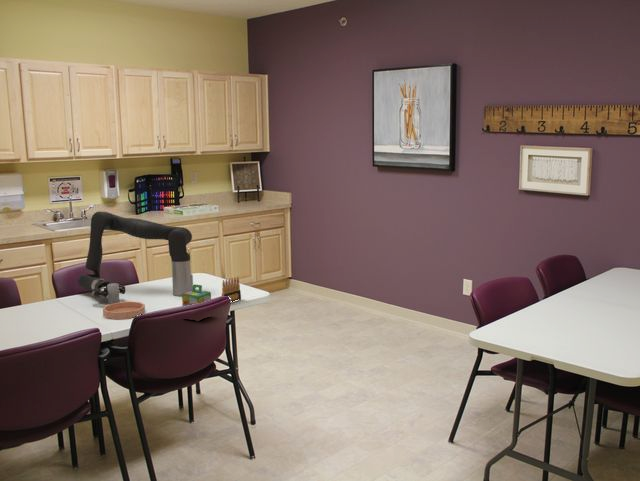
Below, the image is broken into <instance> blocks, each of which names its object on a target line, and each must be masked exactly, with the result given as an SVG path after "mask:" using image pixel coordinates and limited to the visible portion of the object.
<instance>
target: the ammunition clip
mask: <svg viewBox="0 0 640 481" xmlns="http://www.w3.org/2000/svg"><path fill="white" fill-rule="evenodd" d="M221 286H222V288H221V291H222V292H221V297H222V296H229V297H230V298H231V301H232V302H233V301H235V300H238V299H241V300H242V293H241V284H240V278H239V275H238V276H235V277H234V278H233V277H231V279H230V278H228V279H227V278H226V279H223V280H222V285H221ZM233 303H234V302H233Z"/></svg>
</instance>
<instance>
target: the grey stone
mask: <svg viewBox="0 0 640 481" xmlns="http://www.w3.org/2000/svg"><path fill="white" fill-rule="evenodd" d="M110 283H111V284H108V285H107V288H108V296H107V300H108V305H110V304H114V303H119V302H121V301H120V299H121V298H120V293H119V291H120V290H119V285H120V284H119V283H117V282H115V283H114V282H113V283H112V282H110Z"/></svg>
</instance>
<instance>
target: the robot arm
mask: <svg viewBox="0 0 640 481" xmlns="http://www.w3.org/2000/svg"><path fill="white" fill-rule="evenodd" d="M104 231H115V232H116V231H117V232H122V233H124V234H126V235H129V236H131V237H134V238H138V239H142V240H143V239H144V240H161V241H162V240H163V241H167V244H168V253H169V256H170V260H171V264H170V265H171V276H172V277H171V279H172V280H171V281H172V282H171V283H172V295H173V296H178V297H182V294H183V293H186V292H189V291H192V290H193V285H194V277H193V274H192V272H191V271H192V270H191V255H190V253H189V252H188V249H187V246H188V245H189V244H190V242H192V239H193V235H192V232H191V230H189V229H188V228H186V227H181V226H170V225H166V224H161V223H158V222H154V221H150V220H147V219H139V218H134V217H133V218H132V217H123V216H119V215H116V214H113V213H111V212H108V211H99V210H98V211H96V212H94V213H93V214H92V216H91V219H90V235H89V246H88V252H87V257H86V262H85V269H87V270H89V271H92V273H93V274H90V273H81V274H80V275H79V277H78V280H77V281H78V282H77V283H78V285H79V287H80V288H82V289H86V290H91V291H92V296H94V297H96V298H98V297H99V296H100V297H104V298H108V288H107V285H108V284H111V283H112V282H110V281H108V280H106V279H104V278H101V264H102V260H103V253H104V251H103V245H102V244H103V243H102V241H103V235H104ZM125 293H126V286H124V285H122V284H119V294H122V295H124V294H125Z"/></svg>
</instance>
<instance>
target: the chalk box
mask: <svg viewBox="0 0 640 481" xmlns="http://www.w3.org/2000/svg"><path fill="white" fill-rule="evenodd" d="M196 288H198V289H196ZM202 289H203V286H202V284H194V283H193V290H192V291H189V292H186V293H183V294H182V296H181V298H182V300H181V302H182V304H181V305H182V307H183V306H187V305H192V304H197V303H201V302H204V301H208V300H211V301H212V292H211V291H208V290H202Z"/></svg>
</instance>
